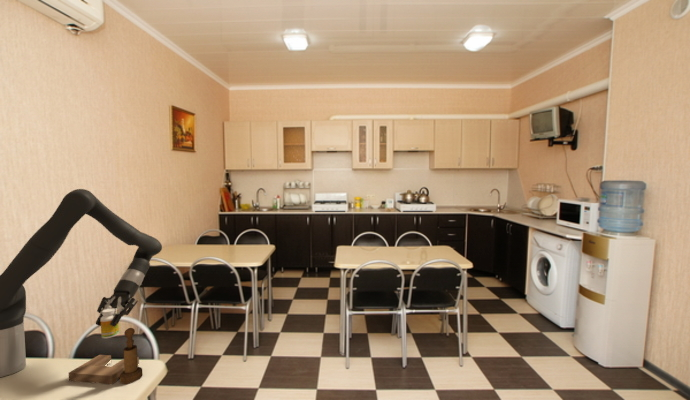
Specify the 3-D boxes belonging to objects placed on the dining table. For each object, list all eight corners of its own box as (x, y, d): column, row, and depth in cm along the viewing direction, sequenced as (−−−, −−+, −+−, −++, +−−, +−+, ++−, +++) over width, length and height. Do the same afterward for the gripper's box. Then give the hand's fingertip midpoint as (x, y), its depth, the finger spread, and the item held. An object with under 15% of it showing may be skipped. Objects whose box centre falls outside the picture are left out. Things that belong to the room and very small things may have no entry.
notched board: (68, 381, 110) (68, 372, 110) (99, 362, 122) (99, 354, 122) (111, 384, 108) (111, 375, 108) (139, 364, 120) (138, 357, 120)
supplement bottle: (117, 336, 116) (116, 310, 116) (99, 340, 114) (97, 313, 113) (120, 330, 121) (119, 306, 121) (103, 334, 119) (101, 308, 118)
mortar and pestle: (131, 385, 107) (128, 333, 107) (115, 383, 109) (113, 332, 108) (146, 373, 114) (144, 325, 113) (131, 372, 115) (129, 323, 115)
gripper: (107, 278, 125) (80, 320, 114) (140, 278, 123) (116, 322, 112) (119, 287, 130) (95, 328, 119) (151, 287, 128) (129, 329, 117)
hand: (105, 325), depth 115 cm, fingers closed on supplement bottle, 5 cm apart
